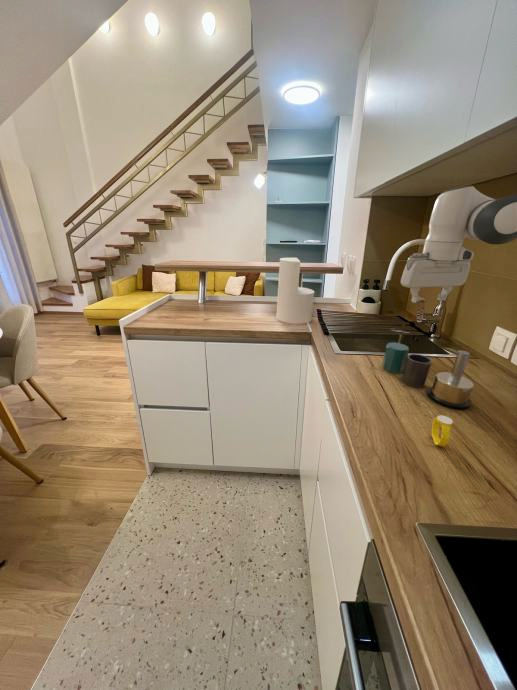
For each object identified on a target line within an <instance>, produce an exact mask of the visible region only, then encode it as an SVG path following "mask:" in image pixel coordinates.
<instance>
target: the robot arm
mask: <svg viewBox="0 0 517 690" xmlns="http://www.w3.org/2000/svg"><path fill="white" fill-rule="evenodd" d="M467 238H468V239H470V240H473V241H477V242H483V243H486V244H488V245H494V246H495V245H503V244H504V245H505V244H508V243H511V242H514V241H515V240H517V193H515V194H510V195H507V196H504V197H503V196H502V197H499V198H497V199H496V198H493V197H490V196H487V195H486V194H483V193H482V192H480V191H479V190H477V189H476V188H475V186H474V185H462V186H457V187H453V188H449V189H447V190H445V191H443V192H441V193H440V194H439V195H438V196H437V198H436V200H435V202H434V205H433V208H432V211H431V215H430V219H429V222H428V234H427V236H426V238H425V240H424V245H423V249H422V252H419V253H418V252H415V253H413V254H411V255H410V256H409V257H408V258H407V261H406V264H405V266H404V269H403V272H402V275H401V278H400V284H401V286H402V287H404V288H408V289H409V291H410V294H411V303H414V304H417V303H418V304H419V303H420V302H421V299H422V296H419V292H420V291H421V288H434V287H435V288H437V287H440V288H441V287H442V291H441V292H440V293H438V294H437V297H436V300H437V301H439V302H446V300H447V298H448V297H447V296H448V295H449V294H450V293H451V291H452V290H453V287H458V286H463V285H464V284H465V283H466V282H467V279H468V276H469V273H470V269H471V261H472V260H473V259H474V257H475V253H474V251H472V250H471V249H468V248H466V247H464V246H463V242H464V240H465V239H467Z"/></svg>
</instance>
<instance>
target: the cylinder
mask: <svg viewBox="0 0 517 690" xmlns="http://www.w3.org/2000/svg"><path fill="white" fill-rule="evenodd" d="M300 272H301V261H300V259H299V258H298V257H280V258H279V267H278V284H277V298H276V299H277V300H276V315H275V316H276V320H278V321H280V322H283V323H285V324H292V325H293V324H298V325H301V324H307V323H310V322H311V321H312V318H313V317H312V316H313V307H314V298H315V291H314V290H313V289H311V288H308V287H303V286H299V285H300V284H299V283H300V274H301V273H300Z"/></svg>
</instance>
